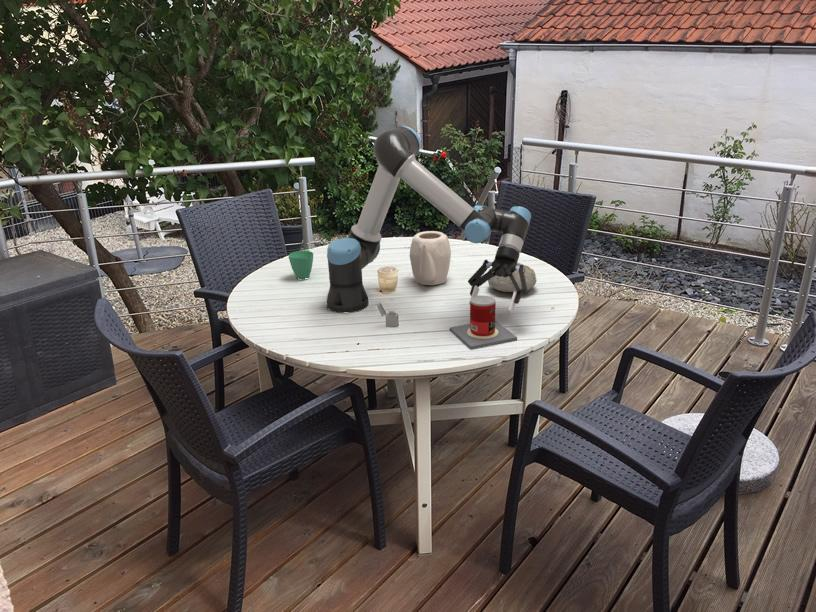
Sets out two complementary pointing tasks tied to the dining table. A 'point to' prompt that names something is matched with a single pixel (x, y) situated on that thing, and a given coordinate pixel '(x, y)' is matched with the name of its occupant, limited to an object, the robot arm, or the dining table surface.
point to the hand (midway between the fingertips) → (490, 308)
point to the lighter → (389, 316)
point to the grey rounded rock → (507, 284)
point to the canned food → (482, 315)
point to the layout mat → (481, 341)
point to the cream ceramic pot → (430, 257)
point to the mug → (301, 263)
